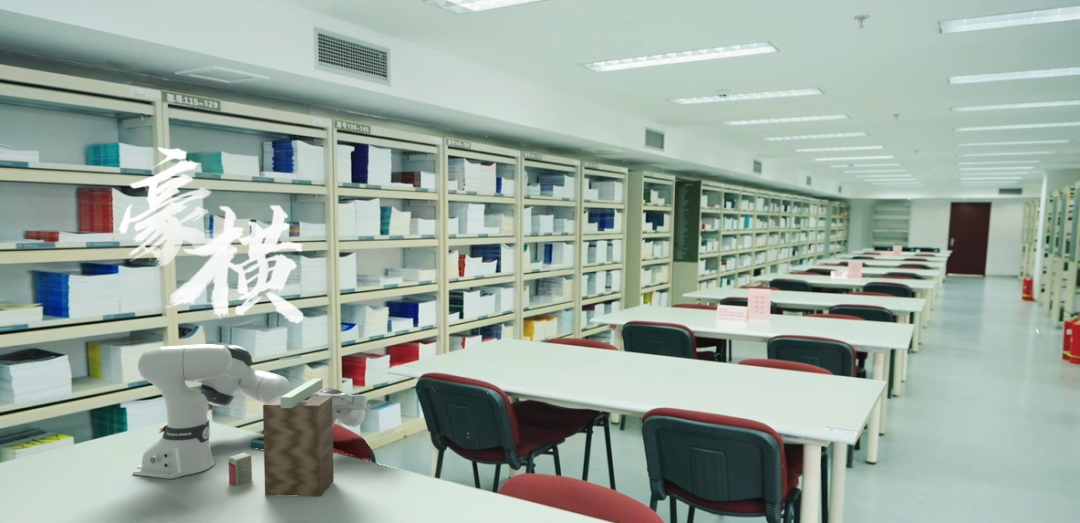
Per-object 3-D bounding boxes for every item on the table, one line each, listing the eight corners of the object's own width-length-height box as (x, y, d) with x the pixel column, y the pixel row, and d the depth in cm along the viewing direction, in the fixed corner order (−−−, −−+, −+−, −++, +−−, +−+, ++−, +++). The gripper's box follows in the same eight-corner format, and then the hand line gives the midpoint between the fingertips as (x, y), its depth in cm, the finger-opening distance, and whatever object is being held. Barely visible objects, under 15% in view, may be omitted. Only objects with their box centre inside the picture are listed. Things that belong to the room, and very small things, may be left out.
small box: (244, 477, 192) (243, 451, 192) (252, 480, 190) (251, 454, 189) (228, 482, 188) (227, 456, 188) (236, 486, 186) (235, 459, 185)
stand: (265, 495, 179) (263, 404, 178) (281, 481, 189) (279, 395, 188) (320, 496, 179) (318, 405, 177) (333, 482, 188) (332, 396, 187)
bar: (280, 407, 175) (280, 397, 174) (313, 388, 197) (313, 378, 196) (291, 408, 174) (291, 397, 174) (322, 388, 196) (322, 378, 196)
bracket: (302, 447, 219) (301, 425, 218) (288, 454, 212) (287, 431, 212) (261, 441, 225) (260, 419, 224) (246, 447, 218) (245, 425, 218)
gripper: (370, 416, 215) (358, 406, 203) (312, 415, 216) (296, 405, 204) (373, 397, 218) (361, 386, 206) (315, 397, 219) (300, 386, 207)
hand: (328, 395), depth 205 cm, fingers open, 8 cm apart
